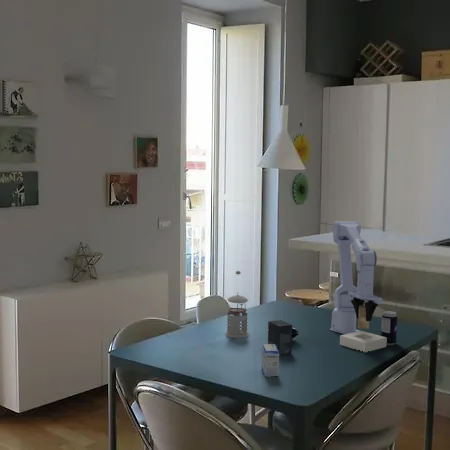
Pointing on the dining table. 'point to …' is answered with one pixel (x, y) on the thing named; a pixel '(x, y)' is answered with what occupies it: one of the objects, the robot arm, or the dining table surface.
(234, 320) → the french press
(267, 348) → the medicine box
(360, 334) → the socket block
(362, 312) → the beech peg
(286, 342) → the box
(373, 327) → the dining table surface
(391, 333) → the beverage can
